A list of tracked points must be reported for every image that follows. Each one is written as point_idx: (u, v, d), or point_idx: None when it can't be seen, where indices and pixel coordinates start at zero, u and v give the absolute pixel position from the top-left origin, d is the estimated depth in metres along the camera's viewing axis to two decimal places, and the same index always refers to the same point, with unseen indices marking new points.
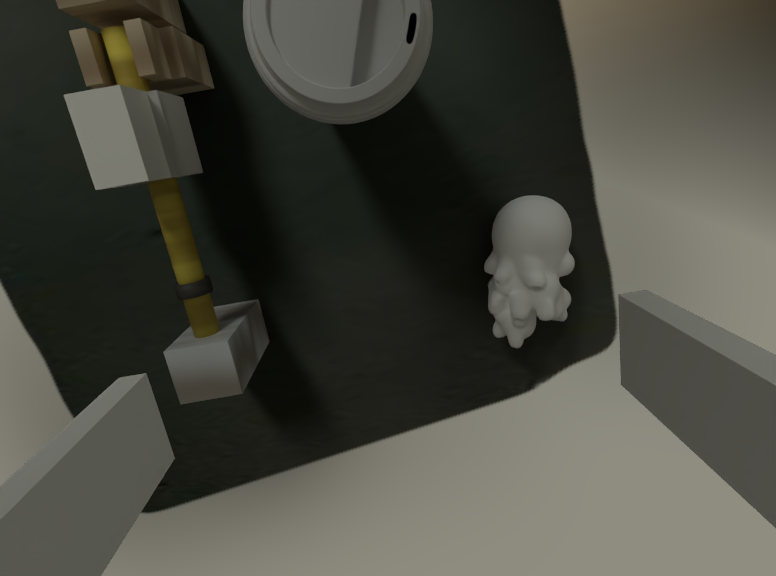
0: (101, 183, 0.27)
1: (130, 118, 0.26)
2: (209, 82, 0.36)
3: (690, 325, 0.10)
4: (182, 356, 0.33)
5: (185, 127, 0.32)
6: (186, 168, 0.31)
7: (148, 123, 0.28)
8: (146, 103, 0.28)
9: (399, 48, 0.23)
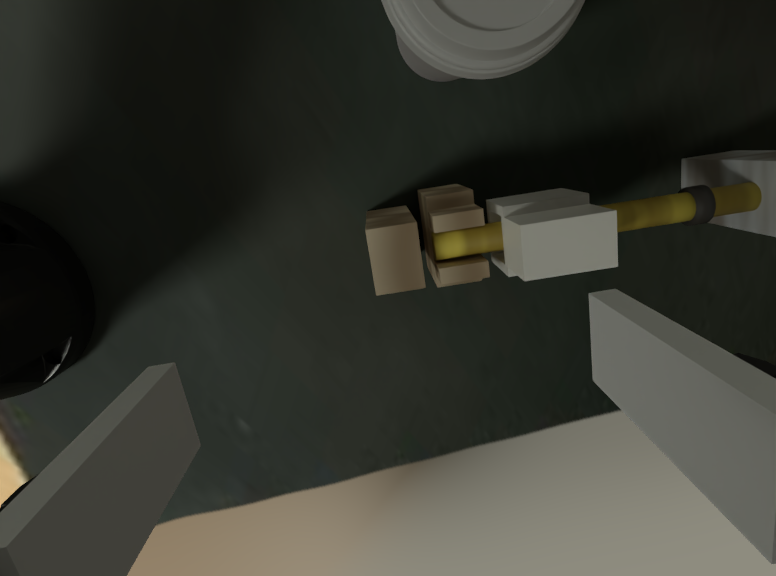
0: (612, 259, 0.25)
1: (551, 220, 0.25)
2: (454, 185, 0.35)
3: (651, 322, 0.11)
4: None
5: (520, 196, 0.31)
6: (573, 192, 0.29)
7: (541, 214, 0.27)
8: (518, 216, 0.27)
9: None
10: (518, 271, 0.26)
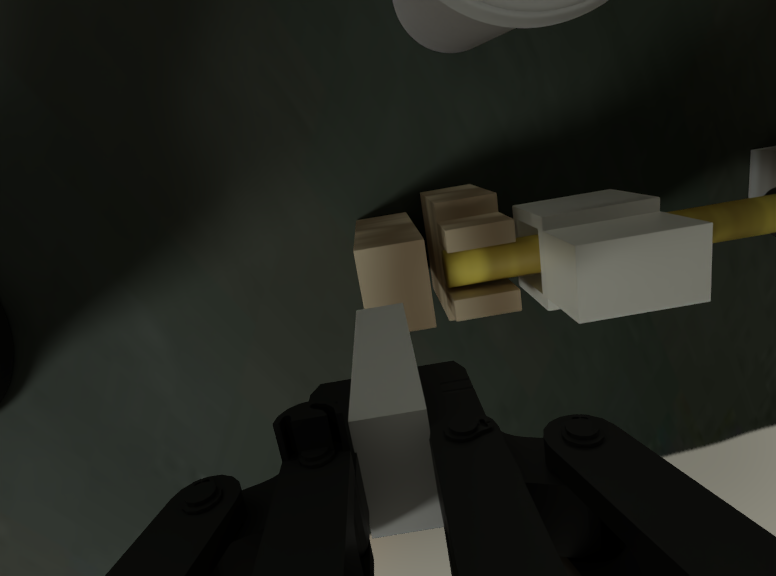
0: (702, 291, 0.18)
1: (619, 237, 0.17)
2: (467, 186, 0.28)
3: (392, 334, 0.13)
4: None
5: (558, 201, 0.23)
6: (634, 195, 0.21)
7: (597, 227, 0.19)
8: (563, 230, 0.20)
9: None
10: (567, 308, 0.19)
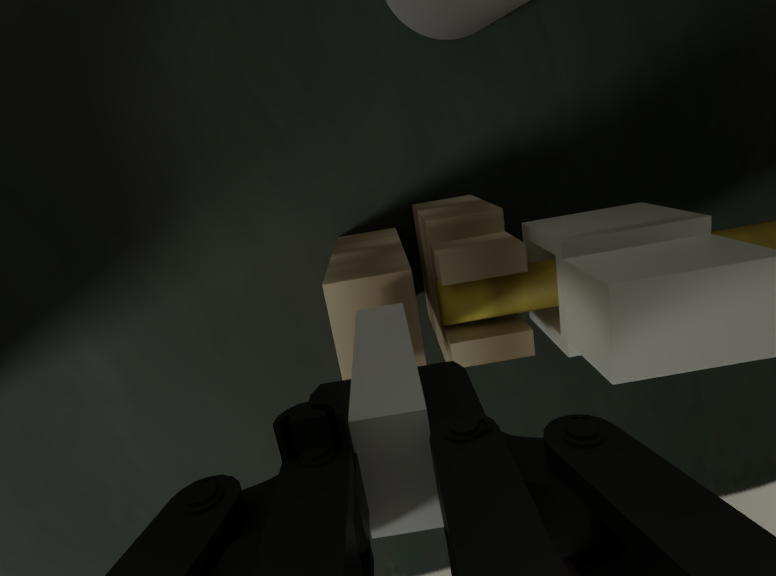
0: None
1: (668, 273, 0.13)
2: (467, 197, 0.23)
3: (393, 334, 0.13)
4: None
5: (579, 218, 0.19)
6: (675, 213, 0.17)
7: (634, 256, 0.15)
8: (589, 258, 0.16)
9: None
10: (596, 360, 0.15)
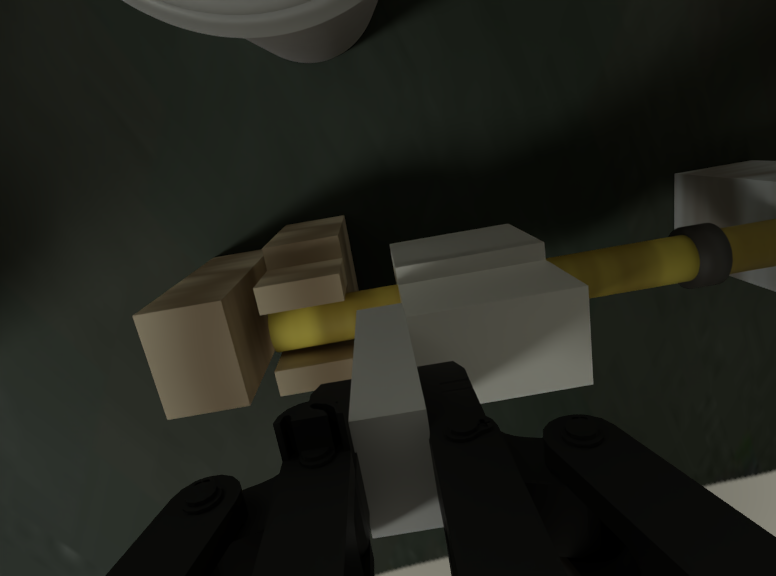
0: (582, 372, 0.14)
1: (466, 305, 0.13)
2: (337, 218, 0.24)
3: (392, 334, 0.13)
4: None
5: (439, 240, 0.19)
6: (520, 237, 0.17)
7: (458, 284, 0.15)
8: (420, 285, 0.16)
9: None
10: None
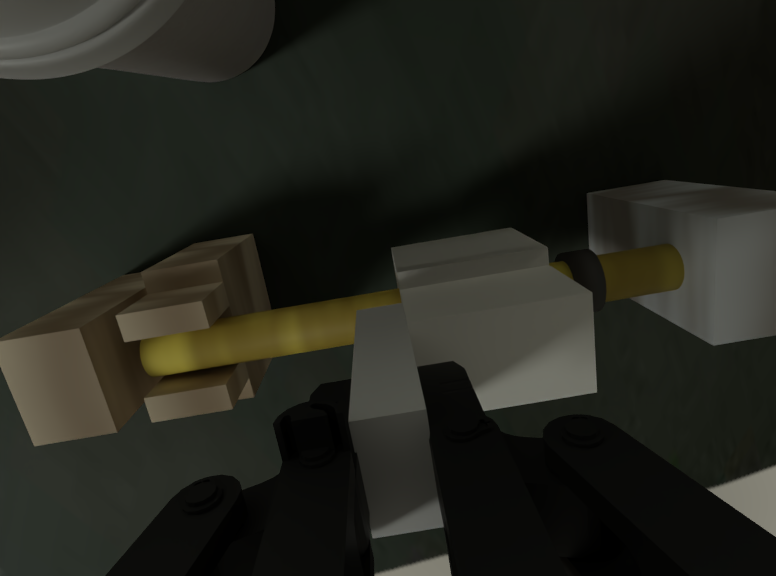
0: (585, 380, 0.14)
1: (468, 311, 0.13)
2: (242, 237, 0.23)
3: (392, 334, 0.13)
4: (730, 311, 0.16)
5: (441, 244, 0.19)
6: (523, 242, 0.17)
7: (460, 289, 0.15)
8: (422, 290, 0.15)
9: None
10: None
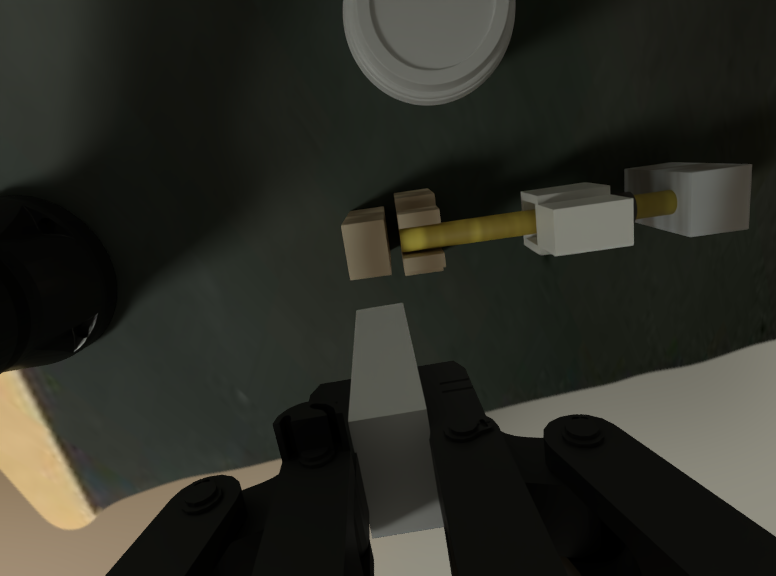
0: (628, 239, 0.31)
1: (579, 205, 0.30)
2: (424, 189, 0.41)
3: (393, 334, 0.13)
4: (698, 219, 0.33)
5: (550, 188, 0.36)
6: (596, 185, 0.34)
7: (570, 202, 0.32)
8: (550, 203, 0.33)
9: None
10: (550, 248, 0.32)
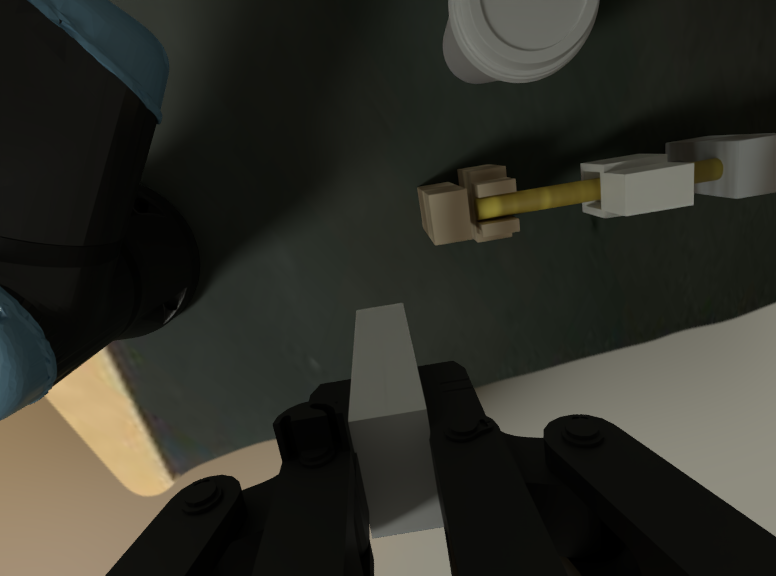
0: (689, 199, 0.35)
1: (647, 170, 0.34)
2: (487, 164, 0.45)
3: (393, 334, 0.13)
4: (744, 182, 0.38)
5: (608, 159, 0.40)
6: (652, 154, 0.38)
7: (634, 169, 0.36)
8: (615, 171, 0.37)
9: None
10: (618, 210, 0.36)
